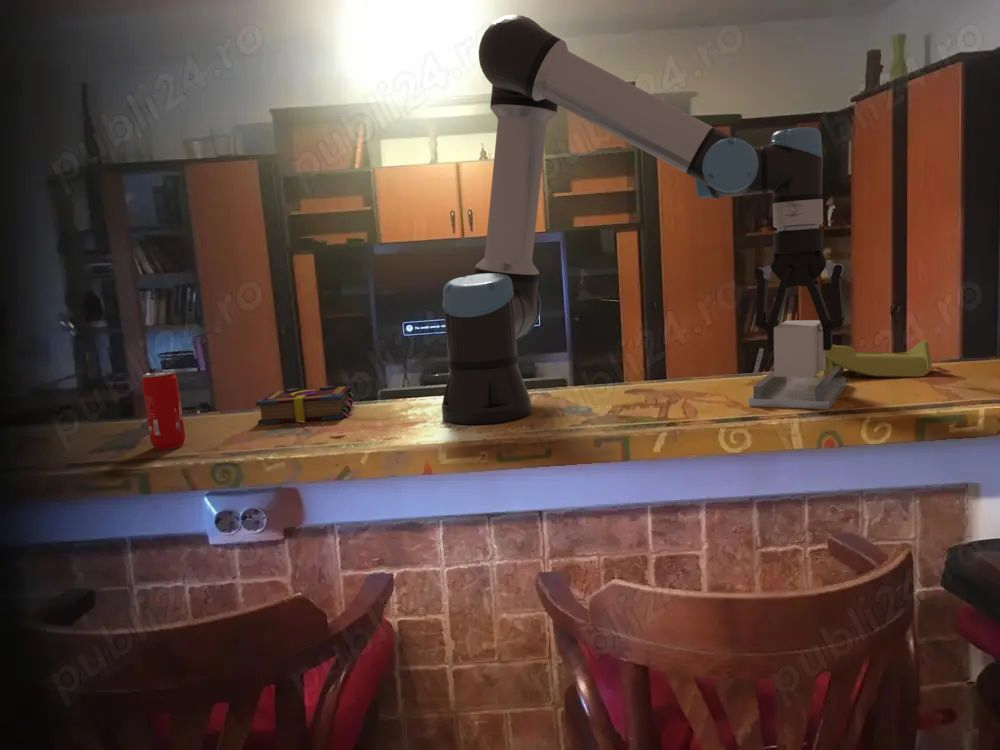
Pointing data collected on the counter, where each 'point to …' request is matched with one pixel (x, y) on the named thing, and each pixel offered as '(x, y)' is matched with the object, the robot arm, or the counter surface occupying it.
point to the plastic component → (881, 361)
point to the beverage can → (163, 410)
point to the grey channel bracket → (799, 391)
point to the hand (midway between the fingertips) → (799, 369)
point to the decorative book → (305, 404)
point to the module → (796, 348)
